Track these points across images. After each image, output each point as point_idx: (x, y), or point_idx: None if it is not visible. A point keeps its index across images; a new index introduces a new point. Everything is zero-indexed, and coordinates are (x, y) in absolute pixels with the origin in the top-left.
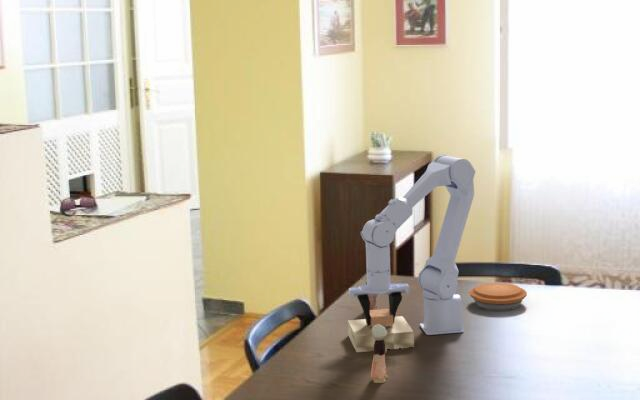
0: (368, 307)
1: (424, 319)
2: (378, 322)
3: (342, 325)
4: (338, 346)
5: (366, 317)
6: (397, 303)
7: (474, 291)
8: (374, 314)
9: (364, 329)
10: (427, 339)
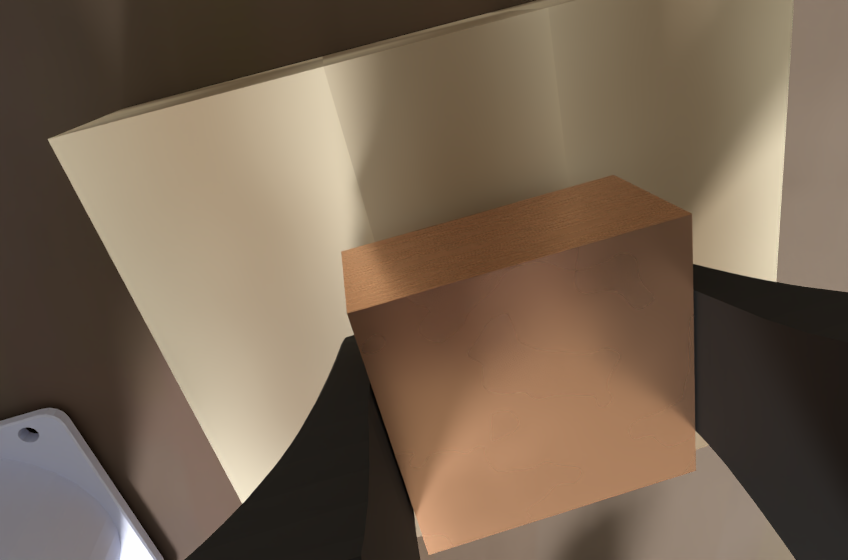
0: (830, 325)
1: None
2: (545, 215)
3: (689, 513)
4: (790, 128)
5: (721, 274)
6: (258, 518)
7: None
8: (626, 334)
9: (663, 198)
10: (38, 325)
